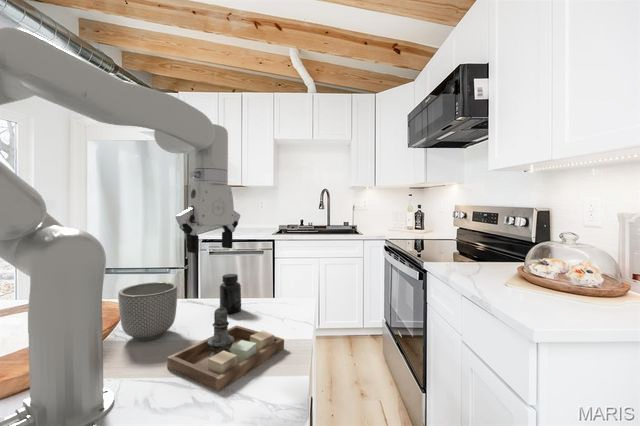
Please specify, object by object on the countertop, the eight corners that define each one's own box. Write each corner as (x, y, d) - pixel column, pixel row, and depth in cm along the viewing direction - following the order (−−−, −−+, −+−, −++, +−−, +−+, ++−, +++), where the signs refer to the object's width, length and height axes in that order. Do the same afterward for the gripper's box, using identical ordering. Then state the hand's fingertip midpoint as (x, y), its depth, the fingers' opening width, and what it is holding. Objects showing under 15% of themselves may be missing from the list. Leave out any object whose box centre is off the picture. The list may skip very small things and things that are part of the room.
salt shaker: (226, 363, 68) (226, 309, 68) (202, 360, 70) (202, 307, 69) (238, 350, 74) (238, 301, 74) (216, 348, 75) (215, 299, 75)
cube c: (261, 357, 71) (261, 340, 71) (249, 352, 73) (249, 335, 73) (274, 351, 74) (274, 334, 74) (262, 346, 77) (262, 330, 76)
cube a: (221, 384, 61) (221, 363, 61) (208, 378, 63) (208, 358, 63) (237, 374, 64) (237, 355, 64) (223, 368, 66) (223, 350, 66)
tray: (219, 394, 58) (219, 379, 58) (167, 370, 66) (167, 357, 66) (284, 351, 75) (284, 339, 75) (236, 336, 84) (236, 325, 83)
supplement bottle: (237, 306, 108) (237, 272, 107) (244, 312, 102) (244, 275, 102) (217, 310, 104) (216, 274, 103) (223, 316, 98) (223, 278, 98)
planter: (124, 330, 87) (123, 284, 86) (178, 322, 92) (178, 279, 92) (113, 352, 74) (112, 298, 74) (177, 342, 80) (176, 292, 79)
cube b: (246, 369, 66) (246, 351, 66) (230, 365, 67) (230, 347, 67) (256, 360, 70) (256, 343, 70) (241, 357, 71) (241, 340, 71)
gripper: (187, 174, 64) (187, 256, 65) (249, 180, 79) (248, 247, 79) (167, 175, 68) (167, 253, 69) (229, 181, 83) (228, 245, 83)
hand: (210, 250), depth 74 cm, fingers open, 9 cm apart
